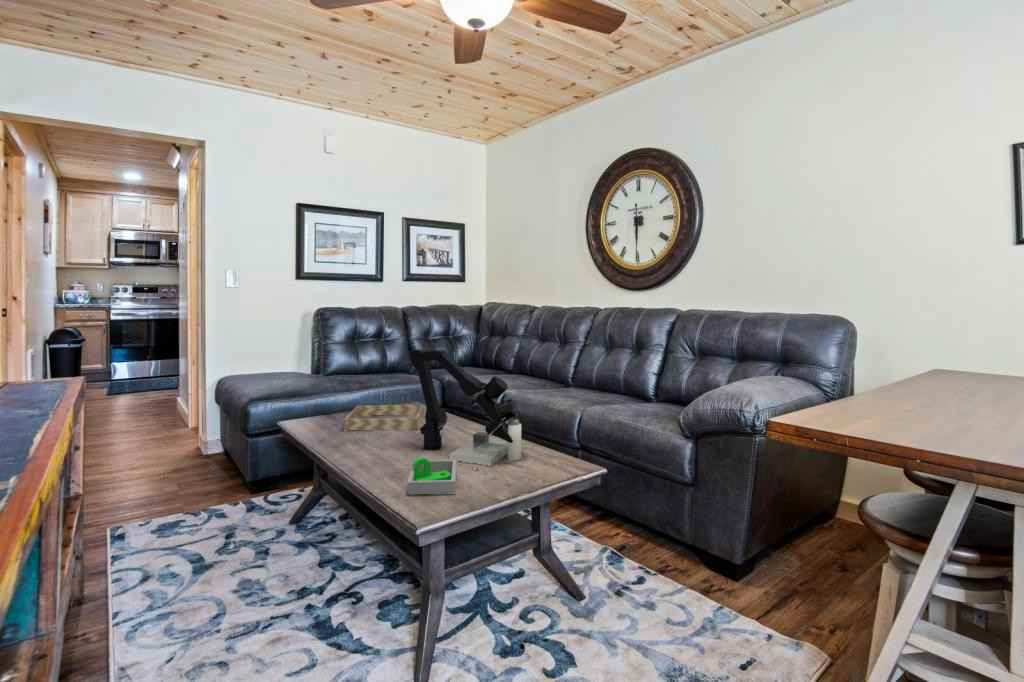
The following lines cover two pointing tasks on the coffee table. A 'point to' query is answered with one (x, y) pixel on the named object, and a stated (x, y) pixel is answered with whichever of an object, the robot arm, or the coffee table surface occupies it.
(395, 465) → the coffee table surface
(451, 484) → the parts tray
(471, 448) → the plate
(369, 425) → the woven basket tray
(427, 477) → the mechanical part
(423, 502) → the coffee table surface
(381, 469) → the coffee table surface
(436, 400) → the robot arm
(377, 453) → the coffee table surface
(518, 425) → the cream bottle
